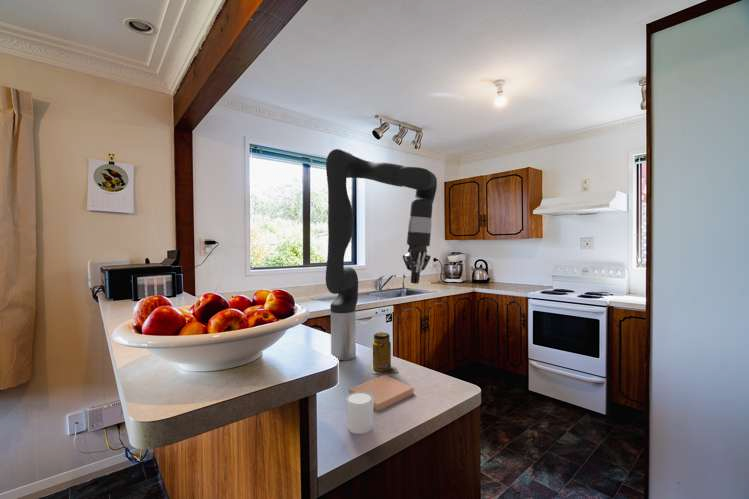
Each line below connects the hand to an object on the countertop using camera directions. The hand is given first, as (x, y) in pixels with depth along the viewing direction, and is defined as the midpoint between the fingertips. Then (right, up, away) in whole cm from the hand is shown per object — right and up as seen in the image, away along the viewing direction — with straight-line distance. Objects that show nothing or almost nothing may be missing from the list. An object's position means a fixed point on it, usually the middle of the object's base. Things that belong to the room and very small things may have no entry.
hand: (414, 283), depth 113 cm
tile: (-6, -29, -12) cm, 32 cm away
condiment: (-10, -29, +2) cm, 31 cm away
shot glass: (-17, -31, -33) cm, 48 cm away
